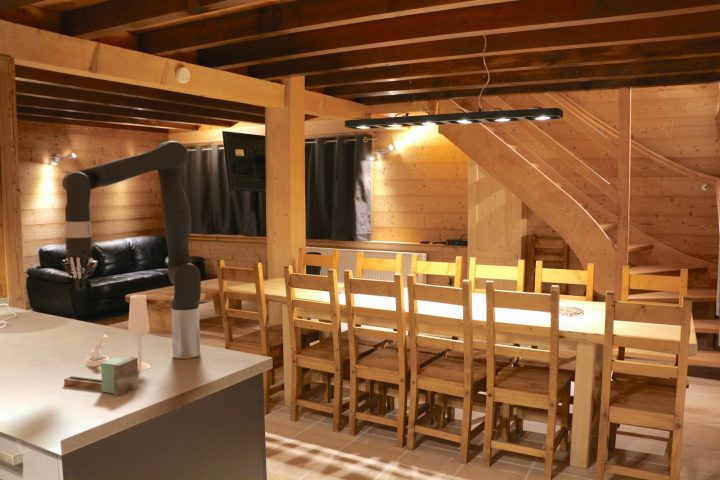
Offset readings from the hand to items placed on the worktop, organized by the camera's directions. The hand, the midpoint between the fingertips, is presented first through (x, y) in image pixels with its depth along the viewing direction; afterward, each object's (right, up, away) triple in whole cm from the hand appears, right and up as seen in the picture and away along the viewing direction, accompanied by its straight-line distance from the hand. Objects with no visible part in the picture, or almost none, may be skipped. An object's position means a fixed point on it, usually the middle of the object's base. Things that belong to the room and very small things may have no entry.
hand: (80, 289), depth 186 cm
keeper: (+17, -28, -14) cm, 36 cm away
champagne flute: (+16, -27, +8) cm, 32 cm away
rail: (+11, -28, -12) cm, 32 cm away
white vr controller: (0, -26, +13) cm, 29 cm away
